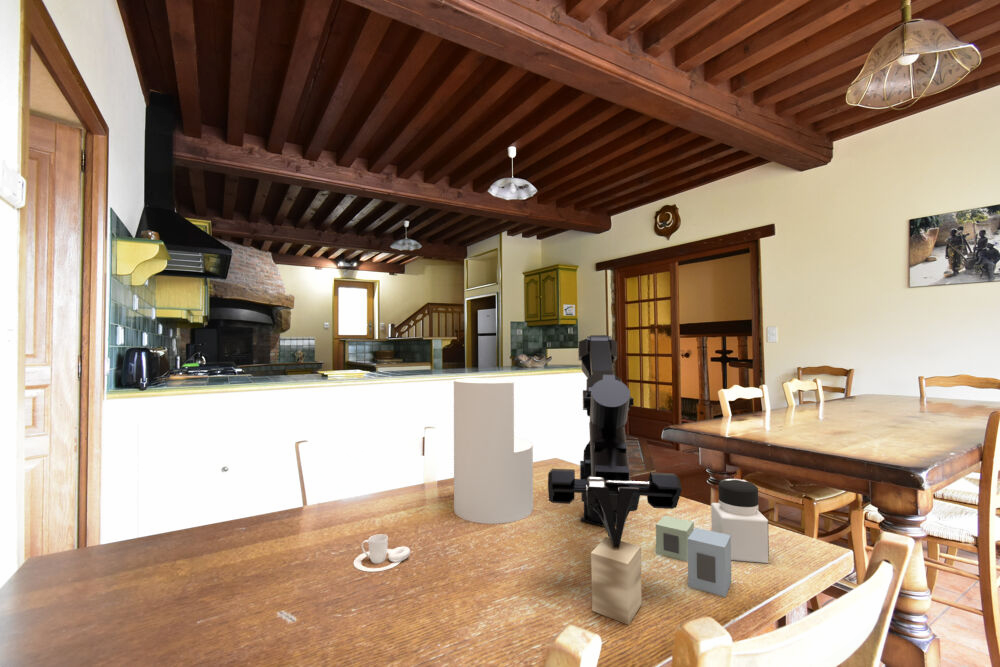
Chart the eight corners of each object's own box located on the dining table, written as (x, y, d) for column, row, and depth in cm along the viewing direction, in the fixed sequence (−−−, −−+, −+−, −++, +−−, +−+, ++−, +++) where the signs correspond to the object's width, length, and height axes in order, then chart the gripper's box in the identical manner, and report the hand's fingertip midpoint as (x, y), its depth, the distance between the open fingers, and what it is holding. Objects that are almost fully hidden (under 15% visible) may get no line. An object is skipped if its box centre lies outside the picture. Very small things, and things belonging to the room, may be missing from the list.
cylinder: (476, 530, 87) (475, 384, 88) (441, 503, 102) (441, 379, 103) (549, 513, 96) (548, 380, 97) (507, 490, 111) (506, 376, 112)
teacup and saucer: (416, 556, 78) (415, 532, 78) (390, 579, 70) (390, 552, 70) (372, 549, 81) (372, 525, 81) (343, 570, 73) (343, 544, 73)
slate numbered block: (687, 587, 67) (687, 539, 67) (695, 572, 71) (695, 527, 71) (725, 598, 64) (724, 548, 64) (731, 582, 68) (730, 535, 68)
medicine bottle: (769, 564, 74) (768, 489, 74) (722, 560, 75) (721, 487, 75) (754, 545, 81) (753, 477, 81) (711, 541, 82) (710, 474, 82)
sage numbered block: (655, 554, 77) (655, 524, 77) (664, 543, 82) (664, 515, 82) (686, 562, 74) (686, 531, 75) (694, 550, 79) (693, 521, 79)
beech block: (592, 610, 61) (591, 552, 60) (606, 591, 65) (605, 536, 64) (628, 625, 58) (627, 564, 57) (641, 603, 62) (640, 546, 61)
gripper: (662, 476, 77) (679, 574, 65) (551, 472, 79) (548, 565, 68) (672, 437, 69) (693, 540, 58) (549, 434, 72) (546, 532, 60)
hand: (616, 546), depth 61 cm, fingers closed, pressing on beech block
